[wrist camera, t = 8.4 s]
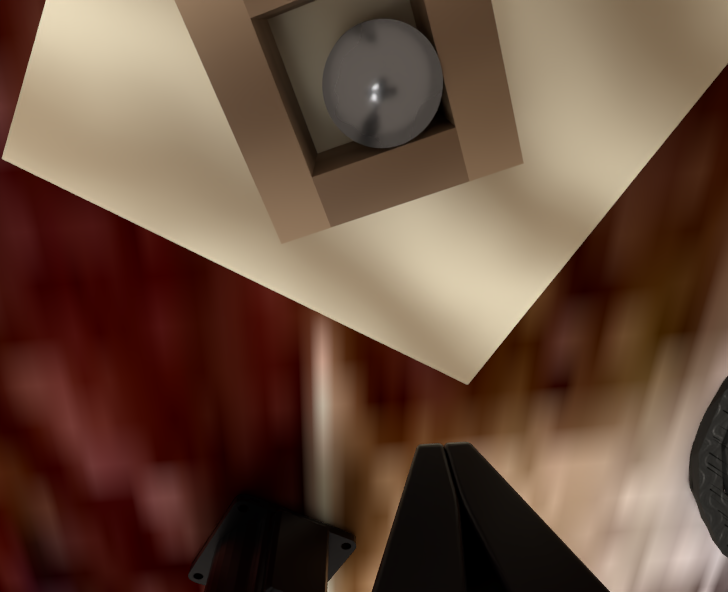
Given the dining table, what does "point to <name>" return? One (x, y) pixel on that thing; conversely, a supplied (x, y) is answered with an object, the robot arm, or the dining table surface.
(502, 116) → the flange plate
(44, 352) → the dining table surface
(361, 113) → the grey round canister
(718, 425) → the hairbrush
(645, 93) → the birch board
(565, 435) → the dining table surface
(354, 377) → the dining table surface
